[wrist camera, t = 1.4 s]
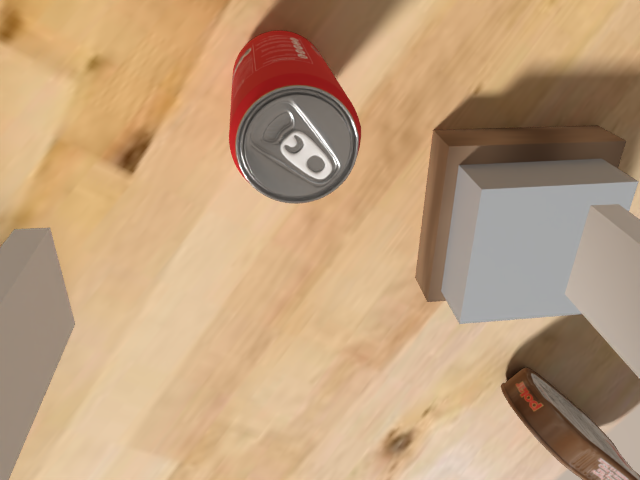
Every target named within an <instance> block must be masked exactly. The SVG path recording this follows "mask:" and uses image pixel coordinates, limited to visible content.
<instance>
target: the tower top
mask: <svg viewBox="0 0 640 480" xmlns="http://www.w3.org/2000/svg"><path fill="white" fill-rule="evenodd" d="M637 184H638V181H637V180H635V179H634V178H632V177H630V176H629V175H627V174H626V173H624V172H622V171H621V170H619V169H618V168H616V167H614V166H613V165H611V164H610V163H608V162H606V161H605V160H603V159H582V160H560V161H538V162H515V163H493V164H471V165H459V167H458V175H457V182H456V189H455V196H454V203H453V210H452V217H451V225H450V232H449V239H448V246H447V253H446V260H445V268H444V275H443V282H442V289H441V292H442V294H443V295H444V297H445V299H446V301H447V302H448V304H449V306H450V308H451V310H452V311H453V313H454V315H455V317H456V318H457V320H458V322H459V324H464V323H476V322H489V321H501V320H514V319H526V318H539V317H551V316H564V315H576V314H582V313H581V312H580V311H579V310H578V309H577V307H576V306H575V305H574V304H573V303H572V302H571V301H570V300H569V298H568V297H567V296H566V295H565V291H566V288H567V284H568V281H569V278H570V274H571V271H572V267H573V264H574V260H575V257H576V254H577V250H578V247H579V243H580V240H581V236H582V233H583V230H584V226H585V223H586V219H587V216H588V213H589V209H590V206H591V205H610V204H619V205H620V206H622V207H623V208H625V209H626V210H627V211H629V210H630V206H631V203H632V200H633V197H634V194H635V191H636V188H637Z"/></svg>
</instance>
